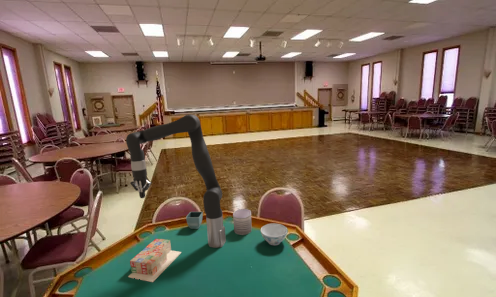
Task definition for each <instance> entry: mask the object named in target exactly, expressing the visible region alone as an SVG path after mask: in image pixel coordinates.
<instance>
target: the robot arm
mask: <svg viewBox="0 0 496 297" xmlns="http://www.w3.org/2000/svg"><path fill="white" fill-rule="evenodd" d="M181 133H182V134H183V133H187V135H188V137H189V140H190V144H191V156H192V161H193V163H194V167H195V169H196V171H197V172H198V174H199V175H200V176H201V178H202V180H203V182H204V185H205V189H206V191H205V192H204V193H203V199H202V200H203V201H202V202H203V210H204V213H205V217H206V229H207V230H206V231H207V232H206V233H207V244H208V246H209V247H210V248H215V249H216V248H222V247H223V246H224V245H225V243H226V242H227V240H226V238H227V237H226V226H224V217H223V216H224V215H223V209H221V200H222V198H223V191H222V189H221V186H220V184H219V182H218V179H217V176H216V173H215V169H214V166H213V161H212V158H211V155H210V153H209V150H208V147H207V143H206V141H205V139H204V135H203V129H202V125H201V120H200V119H199V117H198V116H196V115H195V114H191V113H190V114H186V115H184V116H182V117H180V118H178V119H176V120H174V121H171V122H168V123H165V124H159V125H155V126H152V127H149V128H146V129H142V130H139V131H136V132H131V133H128V135H127V136H126V139H125V143H126V146H127V149H128V152H129V155H130V164H131V165H130V166H131V174H132V178H133V179H132V181H129V182H130V185H131V186H132V188H133V189H134V190H135V191H137V192H138V193H139V198H140V199H145V197H146V191H149V188H150V187H151V185H152V181H149V180H148V177H147V176H148V170H147V162H146V158H145V157H146V156H145V152H144V150H143V149H141V144H144V143H148V142H153V141H158V140H161V139H164V138H166V137H169V136H172V135H176V134H181Z"/></svg>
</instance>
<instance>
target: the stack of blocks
mask: <svg viewBox="0 0 496 297" xmlns="http://www.w3.org/2000/svg"><path fill="white" fill-rule="evenodd" d="M170 250H172V246H171V239H167V238H166V239H164V238H154V240H152V241H151V242H150V243H149V244H148V245H147V246H145V247H144V248H143V249H142V250H141V251H139V253H137V254H136V255H135V256H134V257H133V258H131V259H130V260H129V264H130V271H131V273H140V274H146V275H154V274H155V273H156V272H157V271H158V270H159V269H160V268H161V267H162V265H163V264H164V263H165V262H166V261H167V254H168V253H169V251H170Z"/></svg>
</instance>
